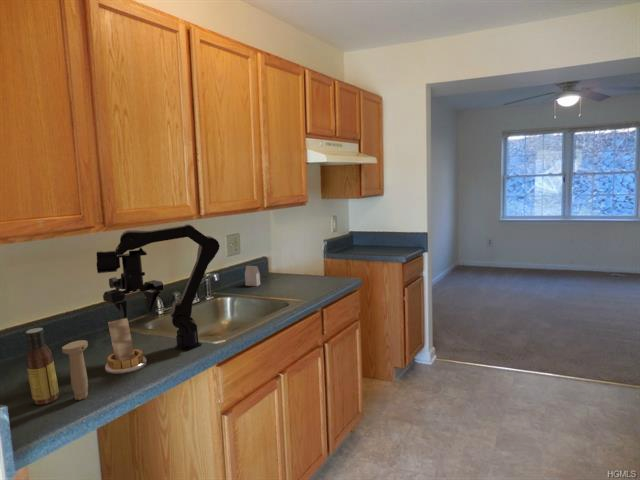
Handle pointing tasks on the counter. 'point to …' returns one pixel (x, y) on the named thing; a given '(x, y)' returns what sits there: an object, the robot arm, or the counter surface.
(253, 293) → the counter surface
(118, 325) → the post
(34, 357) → the sauce bottle
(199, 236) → the robot arm
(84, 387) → the handle
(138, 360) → the segmented gold bowl
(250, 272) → the small carton
